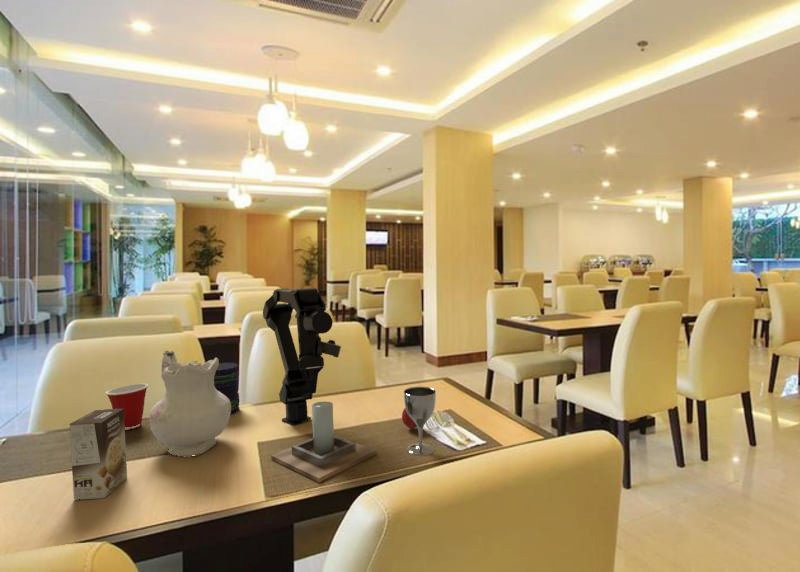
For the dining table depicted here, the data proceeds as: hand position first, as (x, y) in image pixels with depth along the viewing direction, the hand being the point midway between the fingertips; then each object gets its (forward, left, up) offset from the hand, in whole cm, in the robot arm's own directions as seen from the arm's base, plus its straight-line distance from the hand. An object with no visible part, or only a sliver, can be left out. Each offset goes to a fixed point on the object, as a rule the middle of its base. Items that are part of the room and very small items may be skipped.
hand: (313, 390), depth 124 cm
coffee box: (-13, -47, -13) cm, 51 cm away
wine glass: (+29, +11, -13) cm, 33 cm away
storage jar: (-38, -6, -13) cm, 41 cm away
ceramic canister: (+13, -7, -12) cm, 19 cm away
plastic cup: (-48, -30, -13) cm, 58 cm away
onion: (+19, +20, -13) cm, 30 cm away
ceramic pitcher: (-20, -25, -13) cm, 35 cm away
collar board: (+13, -7, -13) cm, 19 cm away
